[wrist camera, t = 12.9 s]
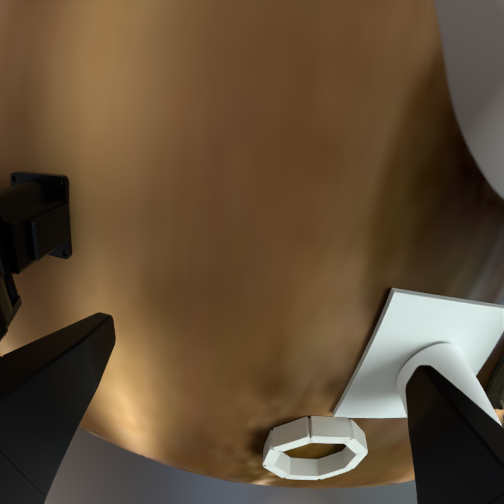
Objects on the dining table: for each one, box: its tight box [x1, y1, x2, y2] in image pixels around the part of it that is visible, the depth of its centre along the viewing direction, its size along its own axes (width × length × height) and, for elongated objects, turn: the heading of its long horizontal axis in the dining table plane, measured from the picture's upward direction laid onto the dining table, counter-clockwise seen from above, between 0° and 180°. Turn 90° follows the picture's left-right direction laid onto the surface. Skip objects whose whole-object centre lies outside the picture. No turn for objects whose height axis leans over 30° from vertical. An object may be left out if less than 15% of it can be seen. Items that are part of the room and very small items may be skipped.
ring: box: [262, 416, 368, 480], centre depth 27 cm, size 10×10×2 cm
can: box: [397, 343, 502, 426], centre depth 17 cm, size 6×6×12 cm
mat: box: [333, 288, 504, 418], centre depth 22 cm, size 14×14×1 cm
